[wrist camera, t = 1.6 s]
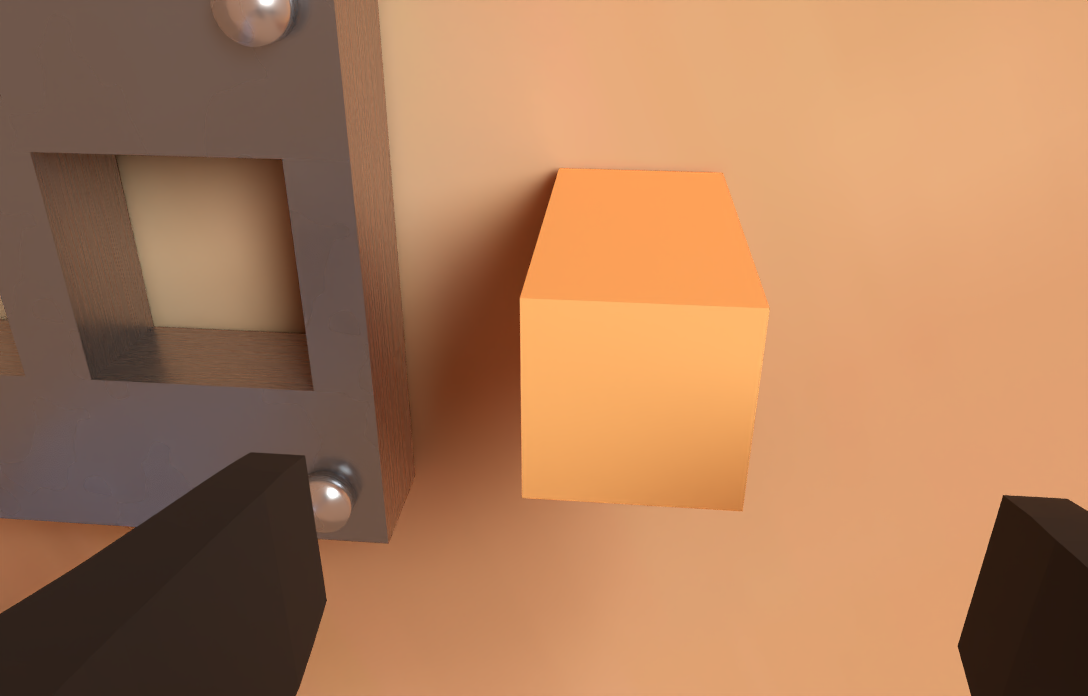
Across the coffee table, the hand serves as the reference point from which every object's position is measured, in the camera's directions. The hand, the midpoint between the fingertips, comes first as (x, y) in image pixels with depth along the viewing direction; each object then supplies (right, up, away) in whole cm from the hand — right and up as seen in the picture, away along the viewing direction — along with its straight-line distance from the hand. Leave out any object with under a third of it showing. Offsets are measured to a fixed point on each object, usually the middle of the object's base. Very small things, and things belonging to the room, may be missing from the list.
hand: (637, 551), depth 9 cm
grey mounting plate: (-11, +5, +9) cm, 15 cm away
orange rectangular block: (+1, +4, +8) cm, 9 cm away
